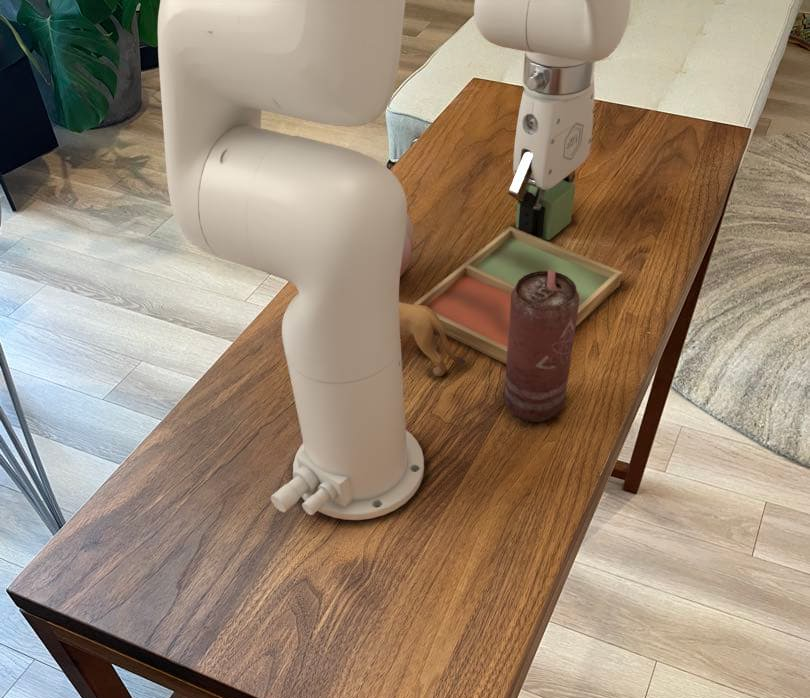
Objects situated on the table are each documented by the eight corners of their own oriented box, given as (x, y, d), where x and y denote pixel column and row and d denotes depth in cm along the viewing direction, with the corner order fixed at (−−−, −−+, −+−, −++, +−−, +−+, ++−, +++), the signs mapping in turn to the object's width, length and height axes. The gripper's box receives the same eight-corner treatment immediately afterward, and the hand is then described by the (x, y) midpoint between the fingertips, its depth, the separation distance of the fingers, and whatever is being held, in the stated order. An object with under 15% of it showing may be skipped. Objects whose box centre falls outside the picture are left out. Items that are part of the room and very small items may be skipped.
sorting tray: (526, 374, 88) (527, 361, 86) (412, 318, 94) (411, 305, 93) (620, 285, 96) (622, 271, 95) (509, 239, 103) (510, 226, 101)
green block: (548, 241, 102) (552, 203, 98) (515, 227, 104) (517, 189, 100) (571, 222, 104) (575, 184, 100) (537, 209, 106) (541, 171, 102)
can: (563, 382, 87) (579, 266, 76) (563, 425, 83) (581, 310, 72) (504, 380, 87) (512, 264, 76) (502, 423, 84) (511, 308, 72)
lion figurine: (329, 358, 91) (319, 289, 83) (346, 328, 94) (337, 258, 86) (459, 382, 87) (460, 312, 80) (472, 350, 90) (474, 279, 83)
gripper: (543, 111, 84) (529, 266, 99) (630, 49, 92) (605, 202, 106) (483, 91, 87) (478, 245, 102) (572, 33, 95) (555, 183, 109)
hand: (543, 221), depth 104 cm, fingers closed on green block, 5 cm apart
